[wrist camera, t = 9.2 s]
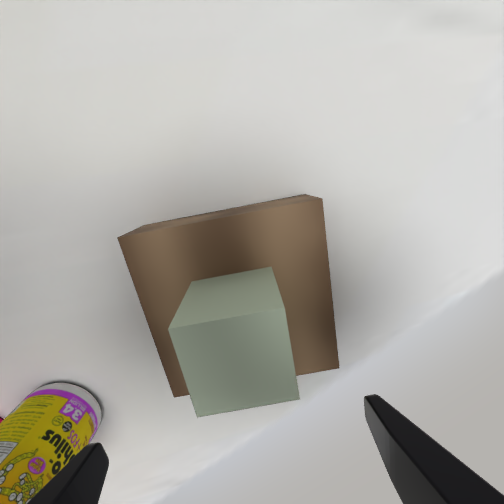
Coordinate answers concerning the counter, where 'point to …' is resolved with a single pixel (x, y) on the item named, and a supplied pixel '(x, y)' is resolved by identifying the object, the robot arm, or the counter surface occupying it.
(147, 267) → the walnut block
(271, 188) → the counter surface
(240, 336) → the sage cube
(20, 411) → the supplement bottle
